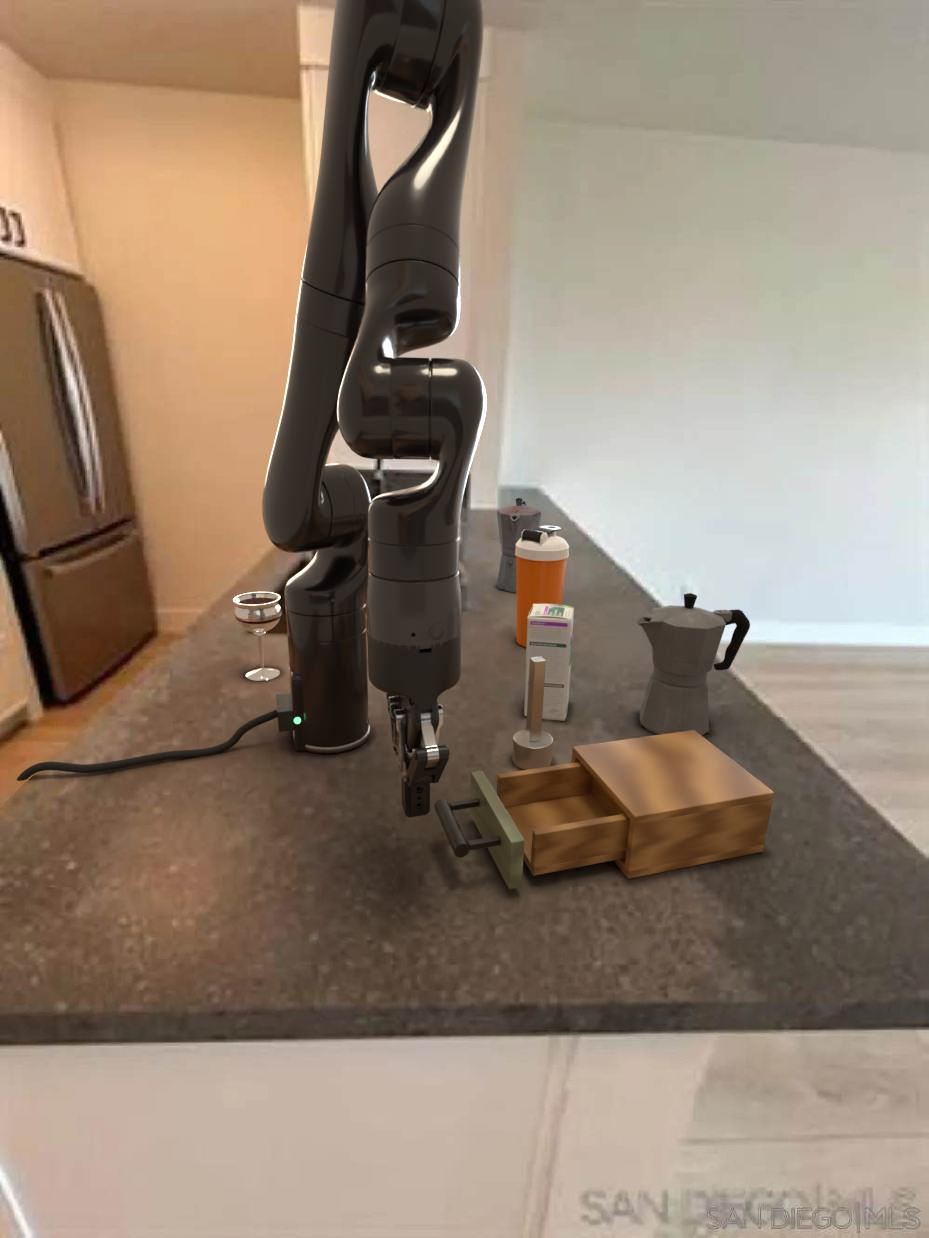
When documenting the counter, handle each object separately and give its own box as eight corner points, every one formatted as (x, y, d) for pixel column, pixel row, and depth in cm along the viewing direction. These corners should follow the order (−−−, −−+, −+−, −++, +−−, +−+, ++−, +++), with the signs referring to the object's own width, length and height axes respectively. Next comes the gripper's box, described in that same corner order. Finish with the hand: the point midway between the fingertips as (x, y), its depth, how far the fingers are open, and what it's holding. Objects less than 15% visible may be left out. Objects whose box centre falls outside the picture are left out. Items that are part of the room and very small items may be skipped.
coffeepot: (642, 744, 84) (658, 607, 78) (612, 710, 93) (625, 584, 87) (753, 735, 87) (777, 602, 81) (714, 703, 95) (733, 581, 90)
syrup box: (566, 721, 89) (574, 618, 85) (522, 717, 90) (527, 614, 86) (568, 703, 94) (576, 605, 90) (526, 699, 96) (532, 601, 91)
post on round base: (520, 773, 77) (526, 668, 73) (506, 753, 81) (511, 653, 77) (557, 768, 78) (565, 664, 74) (542, 748, 82) (548, 649, 78)
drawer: (460, 899, 56) (461, 851, 55) (428, 819, 67) (428, 777, 65) (647, 862, 61) (653, 817, 60) (590, 793, 72) (594, 754, 70)
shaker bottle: (570, 639, 119) (579, 527, 112) (548, 655, 112) (556, 536, 105) (525, 630, 123) (531, 521, 117) (501, 644, 116) (506, 529, 110)
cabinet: (627, 879, 60) (635, 816, 58) (568, 801, 72) (572, 746, 70) (763, 851, 65) (774, 792, 62) (686, 781, 76) (693, 729, 74)
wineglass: (260, 662, 106) (254, 589, 102) (295, 670, 104) (290, 595, 100) (229, 677, 100) (222, 600, 97) (265, 686, 98) (259, 608, 94)
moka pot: (490, 594, 144) (493, 501, 138) (498, 576, 159) (502, 491, 152) (534, 597, 143) (540, 503, 136) (539, 579, 157) (544, 493, 151)
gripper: (355, 604, 59) (361, 778, 64) (382, 660, 47) (387, 867, 52) (438, 598, 61) (437, 767, 66) (485, 650, 49) (479, 850, 54)
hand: (415, 811), depth 59 cm, fingers closed
